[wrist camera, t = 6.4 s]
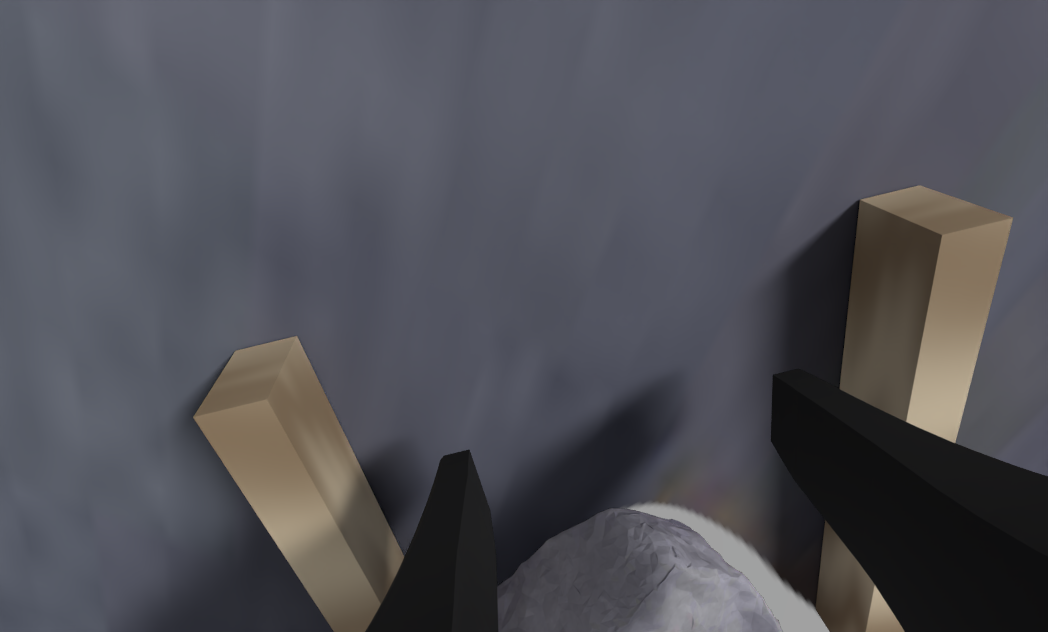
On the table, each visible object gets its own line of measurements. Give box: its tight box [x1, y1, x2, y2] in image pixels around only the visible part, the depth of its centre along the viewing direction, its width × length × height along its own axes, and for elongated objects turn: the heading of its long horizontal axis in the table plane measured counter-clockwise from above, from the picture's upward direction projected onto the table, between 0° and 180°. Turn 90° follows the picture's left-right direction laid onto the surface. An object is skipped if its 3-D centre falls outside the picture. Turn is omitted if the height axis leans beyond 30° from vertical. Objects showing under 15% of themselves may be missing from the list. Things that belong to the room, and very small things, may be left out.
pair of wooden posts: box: [193, 185, 1013, 632], centre depth 16 cm, size 17×17×2 cm
